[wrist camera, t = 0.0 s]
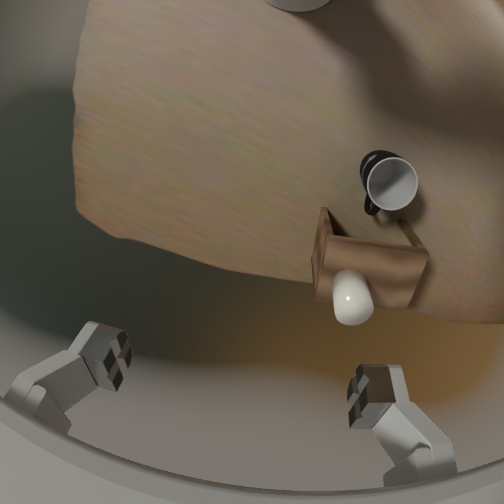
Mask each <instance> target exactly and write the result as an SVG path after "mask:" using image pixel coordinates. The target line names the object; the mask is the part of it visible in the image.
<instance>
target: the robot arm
mask: <svg viewBox="0 0 504 504" xmlns="http://www.w3.org/2000/svg"><path fill="white" fill-rule="evenodd" d="M265 1H266V2H268V3H269V4H271V5H273V6H275V7H277V8H279V9H283V10H286V11H292V12H305V11H311V10H315V9H317V8H320V7H322V6H324V5H325V4H326V3H328V2H329V1H330V0H265ZM127 339H128V336H127V333H126V331H123V330H120V329H116V328H113V327H109V326H106V325H102V324H99V323H96V322H92V321H89V322H87V323H86V325H85V326H84V327H83V329H82V330H81V332H80V333H79V335H78V336H77V337H76V339H75V340H74V342H73V343H72V345H71V346H70V348H69V349H68V351H66V350H63V351H61V352H60V353H58V354H56V355H54V356H52V357H50V358H48V359H46V360H44V361H42V362H41V363H39V364H37V365H35V366H33V367H31V368H29V369H27V370H25V371H24V372H22V373H20V374H19V375H18V376H17V378H16V379H15V381H14V382H13V384H12V386H11V387H10V388H9V390H8V392H7V393H6V395H5V396H4V398H2V397H1V396H0V504H504V458H502V459H499V460H497V461H494V462H491V463H488V464H485V465H482V466H479V467H476V468H473V469H469V470H466V471H463V472H459V473H457V467H456V462H455V457H454V452H453V447H452V442H451V441H450V440H449V439H448V438H447V437H446V436H445V435H444V434H443V433H442V432H441V431H440V429H439V428H438V427H437V426H436V425H435V424H434V423H433V422H432V421H431V420H430V419H429V418H428V417H427V416H426V415H425V414H424V413H423V412H422V411H421V410H420V409H419V407H418V406H417V405H416V404H415V403H414V402H410V400H409V396H408V392H407V387H406V383H405V380H404V376H403V372H402V368H401V366H400V365H385V364H360V365H358V367H357V369H356V376H354V377H352V378H351V380H350V382H349V385H348V390H347V402H348V403H349V405H350V406H351V407H352V408H351V410H350V411H349V413H348V415H349V427H350V428H356V429H357V428H358V429H371V430H372V432H373V433H374V435H375V436H376V437H377V439H378V440H379V442H380V443H381V445H382V446H383V448H384V449H385V451H386V452H387V454H388V455H389V456H390V458H391V459H392V461H393V462H394V464H395V465H396V466H394V467H393V468H392V469H390V470H389V471H388V472H386V473H385V474H384V475H383V481H384V487H381V488H372V489H361V490H345V491H290V490H274V489H262V488H253V487H244V486H237V485H230V484H223V483H218V482H212V481H207V480H202V479H197V478H192V477H188V476H184V475H179V474H175V473H171V472H168V471H164V470H160V469H157V468H153V467H150V466H147V465H143V464H140V463H137V462H134V461H131V460H128V459H125V458H122V457H120V456H117V455H114V454H112V453H109V452H106V451H104V450H101V449H99V448H96V447H94V446H92V445H89V444H87V443H85V442H82V441H80V440H78V439H76V438H73V437H71V436H69V435H67V433H68V431H69V429H70V427H71V421H70V420H69V419H68V418H67V416H66V415H65V414H64V412H65V411H66V410H68V409H69V408H71V407H72V406H73V405H75V404H76V403H77V402H79V401H80V400H81V399H83V398H84V397H86V396H87V395H88V394H90V393H91V392H92V391H94V390H95V389H96V388H97V386H99V387H102V388H105V389H108V390H111V391H115V392H117V391H118V389H119V387H120V385H121V383H122V381H123V375H122V373H123V372H124V371H126V370H127V369H128V368H129V366H130V364H131V360H132V349H131V346H130V345H129V344H128V343H127Z"/></svg>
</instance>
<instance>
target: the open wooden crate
mask: <svg viewBox="0 0 504 504" xmlns="http://www.w3.org/2000/svg"><path fill="white" fill-rule="evenodd" d="M399 226H400V227H401V229H402V230H403V232H404V233H405V235H406V236H407V238H408V239H409V241H410V242H411V244H412V245H413V247H412V246H406V245H399V244H393V243H386V242H379V241H372V240H365V239H358V238H351V237H344V236H337V235H333V231H332V227H331V223H330V219H329V215H328V211H327V208H326V207H321V212H320V217H319V223H318V228H317V233H316V239H315V244H314V249H313V254H312V259H311V262H312V274H313V287H314V300H315V301H320V302H330V303H333V296H332V289H331V281H332V279H333V277H334V276H335V274H337V273H338V272H339V271H341V270H344V269H348V268H352V269H357V270H359V271H361V272H362V273H363V274H364V276H365V279H366V282H367V285H368V289H369V292H370V295H371V299H372V302H373V306H374V307H382V308H395V309H407V307H408V305H409V302H410V300H411V298H412V296H413V294H414V291H415V289H416V287H417V284H418V282H419V280H420V277H421V275H422V272H423V270H424V267H425V265H426V262H427V260H428V257H429V253H428V252H427V250H426V249H425V247H424V246H423V244H422V243H421V241H420V240H419V238H418V237H417V236H416V234H415V233H414V231H413V230H412V229H411V227H410V226H409V224H408V223H407V222H406V220H401V219H400V222H399Z"/></svg>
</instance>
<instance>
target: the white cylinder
mask: <svg viewBox="0 0 504 504" xmlns="http://www.w3.org/2000/svg"><path fill="white" fill-rule="evenodd" d="M331 289H332V296H333V303H334V310H335V316H336V319H337V320H338V321H339V322H341V323H342V324H345V325H358V324H361V323H363V322H365V321H366V320H367V319H369V318H370V316H371V315H372V313H373V309H374V306H373V302H372V299H371V295H370V292H369V289H368V285H367V282H366V279H365V276H364V274H363V273H362V272H361V271H359V270H357V269H352V268H348V269H344V270H341V271H339V272H338V273H337V274H335V276H334V277H333V279H332V281H331Z"/></svg>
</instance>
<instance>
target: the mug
mask: <svg viewBox="0 0 504 504" xmlns="http://www.w3.org/2000/svg"><path fill="white" fill-rule="evenodd" d="M360 175H361V180H362V183H363V186H364V188H365V190H366V192H367V195H366V199H365V204H364V209H365V212H366V213H367V214H368V215H375V214H376V213H377V212H378V211H379V210H380V209H381V208H382V209H384V210H390V211H392V210H398V209H401V208H403V207H405V206H407V205H408V204H409V203H410V202H411V201H412V200H413V198H414V197H415V195H416V192H417V189H418V177H417V173H416V171H415V169H414V168H413V166H412V165H411V164H410V163H409V162H408V161H406V160H405V159H404V158H402V157H400V156H398V155H396V154H394V153H391V152H388V151H383V150H377V151H373V152H370V153H369V154H367V155H366V156H365V157H364V159H363V160H362V163H361V166H360ZM371 200H372V202H373V203H374V207H373V208H372V209H371V210H370V204H371Z"/></svg>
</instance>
